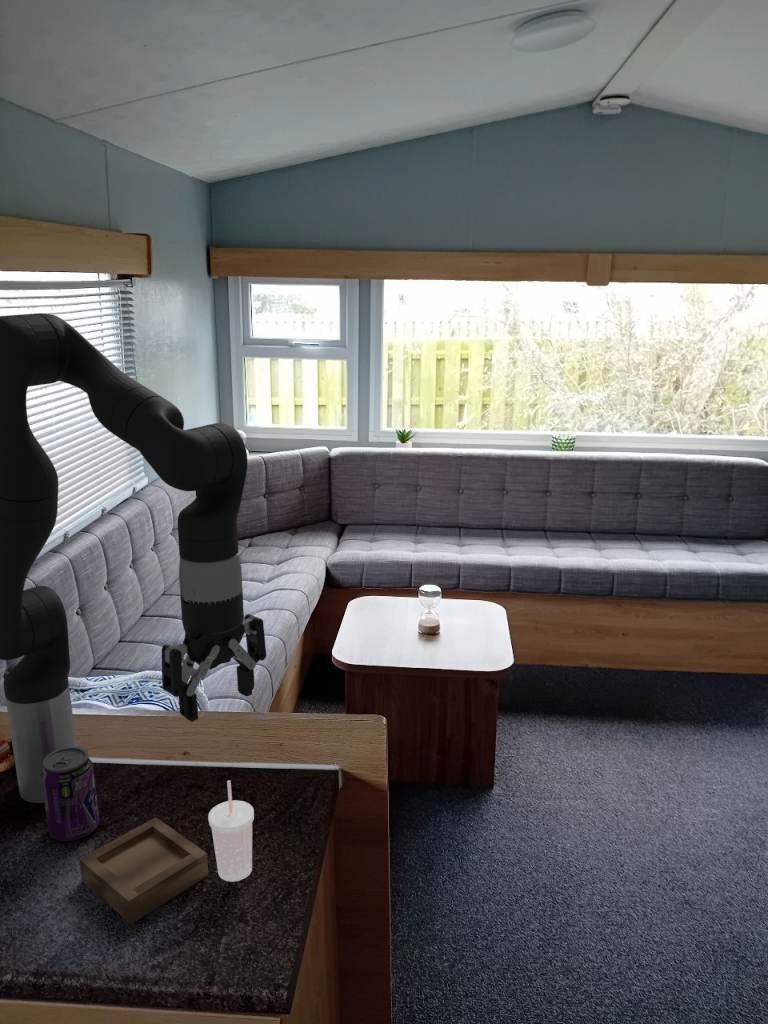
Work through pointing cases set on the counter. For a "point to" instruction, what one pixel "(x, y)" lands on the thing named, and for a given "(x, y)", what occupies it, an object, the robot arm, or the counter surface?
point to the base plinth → (143, 869)
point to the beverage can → (69, 794)
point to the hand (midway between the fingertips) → (218, 706)
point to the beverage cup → (232, 837)
